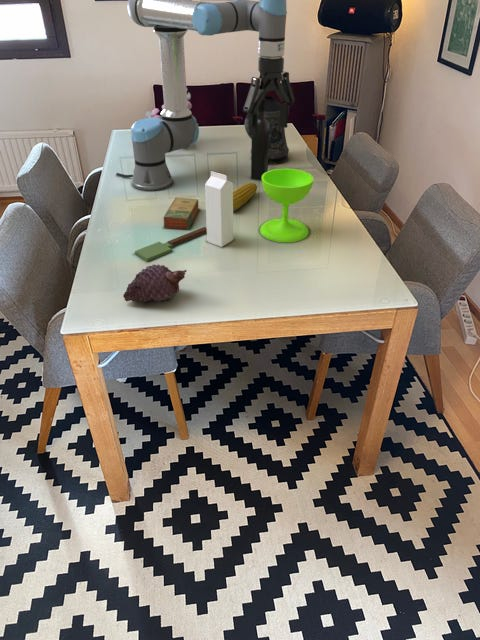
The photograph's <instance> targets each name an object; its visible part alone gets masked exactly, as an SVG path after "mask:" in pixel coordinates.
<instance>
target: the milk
mask: <svg viewBox="0 0 480 640" xmlns="http://www.w3.org/2000/svg"><path fill="white" fill-rule="evenodd" d="M233 192H234V182H231V181H229V180H228V176H227V175H226V174H223V173H219V172H216V171H210V177H209V178H208V179H207V180H206V182H205V184H204V194H205V195H204V196H205V197H204V199H205V218H206V219H205V220H206V221H205V223H206V228H207V233H206V243H209V244H213V245H215V246H218V247H221V248H222V247H224V246H226V245H228V244H229V243H231V242H233V241H234V210H233Z"/></svg>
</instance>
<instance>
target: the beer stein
mask: <svg viewBox="0 0 480 640" xmlns="http://www.w3.org/2000/svg"><path fill="white" fill-rule="evenodd" d="M264 98H265V116H264V118H265V120H266V121H267V122H268V124H269V148H268V165H279V164H282V163H283V164H284V163H286V161H287V160H288V156H289V153H290V150H289V146H288V143H287V138H286V137H287V136H286V130H285V129H286V128H285V127H281V126H280V106H281V105H282V104H281V103H280V102H279V101H277V98H276V97H275V96H264ZM252 110H253V109H252ZM256 114H257V111H256ZM244 129H245V132H246V134H247V136H248V137H249V139H250V140H252V135H249V124H248V113H246V116H245V119H244Z"/></svg>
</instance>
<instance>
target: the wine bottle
mask: <svg viewBox="0 0 480 640" xmlns="http://www.w3.org/2000/svg"><path fill="white" fill-rule="evenodd" d="M257 114H258V122H257V136H256V137H255V136H252V139H251V145H250V146H251V148H250V155H251V157H250V178H251V180H256V181H262V179H261V177H262V175H263V174H264V173H265V172H267V171H269V164H268V148H269V124H268V122H267V121H266V120H265V118H264V116H265V98H263V100H262V102H261V104H260V106H259V107H258V109H257Z"/></svg>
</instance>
